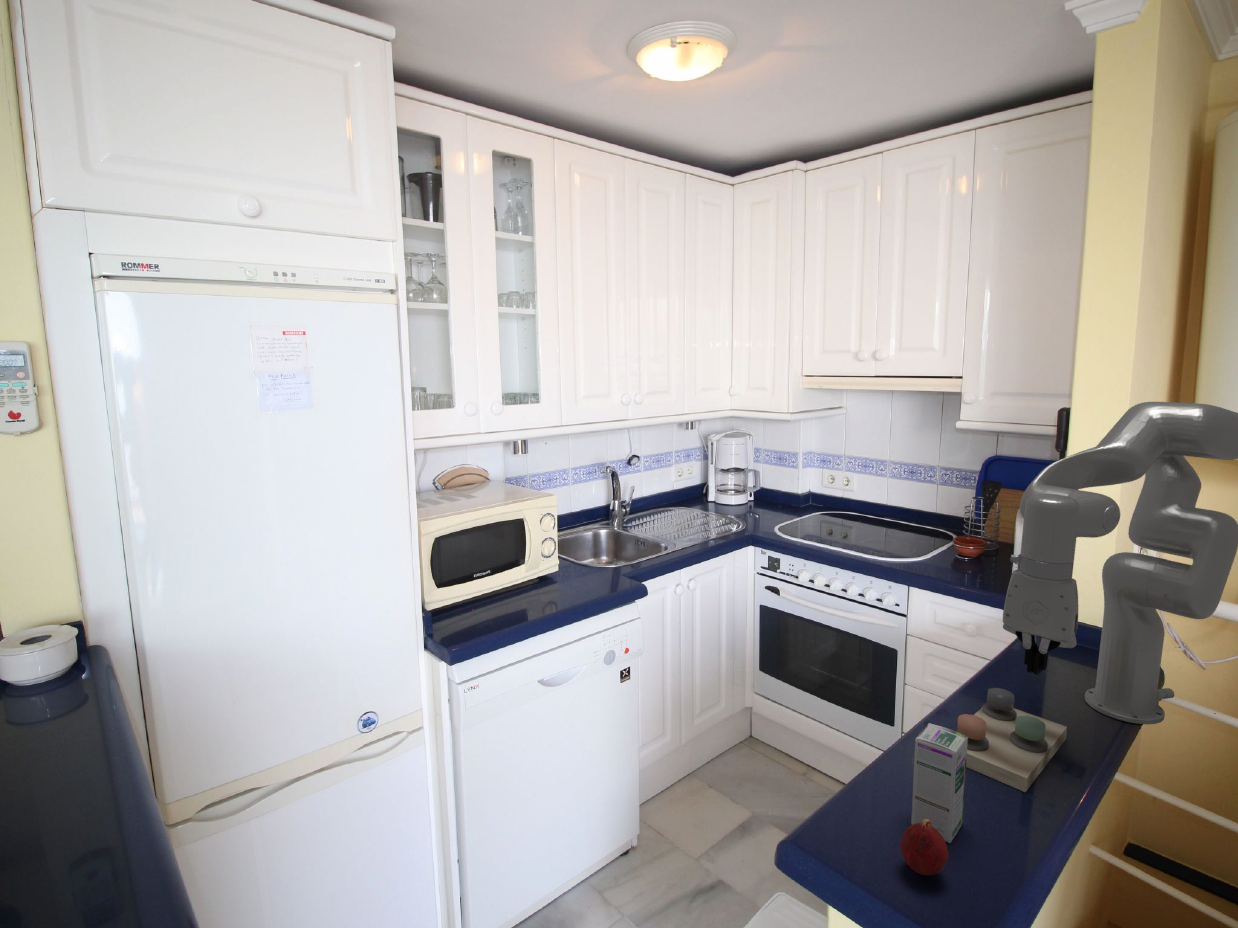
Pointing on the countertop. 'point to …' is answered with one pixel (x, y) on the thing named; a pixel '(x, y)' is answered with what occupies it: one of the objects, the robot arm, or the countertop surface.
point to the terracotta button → (972, 726)
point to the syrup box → (939, 779)
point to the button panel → (1012, 748)
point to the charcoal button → (1000, 699)
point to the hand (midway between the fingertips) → (1034, 670)
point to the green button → (1030, 728)
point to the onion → (924, 848)
